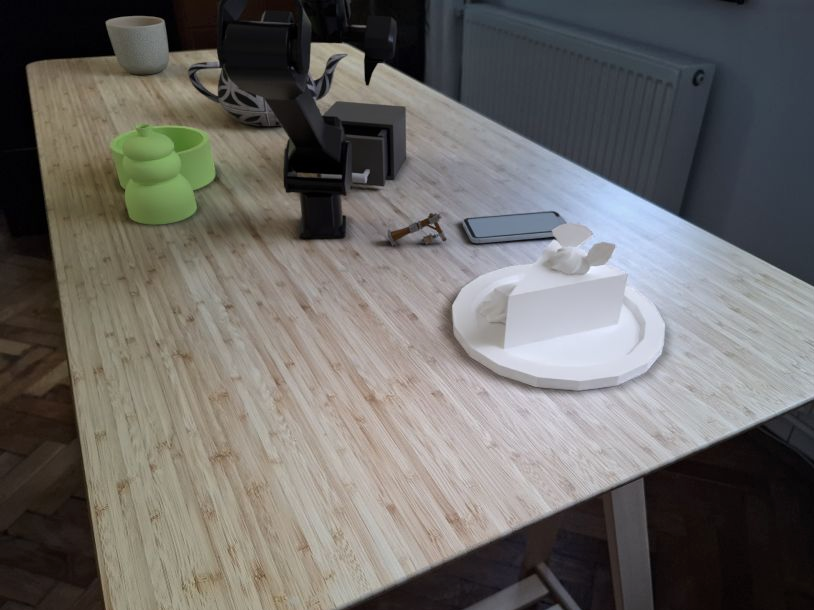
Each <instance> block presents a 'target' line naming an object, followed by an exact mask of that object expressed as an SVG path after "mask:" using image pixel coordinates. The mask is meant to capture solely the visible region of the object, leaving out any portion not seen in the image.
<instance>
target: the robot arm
mask: <svg viewBox="0 0 814 610" xmlns="http://www.w3.org/2000/svg"><path fill="white" fill-rule="evenodd" d="M249 2H250V0H220V1H219V2H218V6H217V28H216V30H217V31H216V54H217V59H218V62H219V63H220V66H221V67H222V68H221V69H223V70H225V72H226V74H227V76H228V78H229V79H230V80H231V81H232V82H233V83H234V84H235V85H237V86H238V87H239V88H240V89H241V90H244V91H247V92H249V93H252V94H255V95H258V96H261V97H263V98H264V99H265V101H266V102H267V104H268V106H269V107H270V109H271V110H272V112H273V113H274V115H275V117H276V118H277V120H278V121H279V123H280V124H281V125H280V126H281V127H282V130H283V131H284V132H285V134H286V135H287V137H288V139H287V143H286V147H285V148H284V152H283V153H284V154H283V168H282V169H283V171H282V173H283V179H282V180H283V181H282V182H283V188H284V191H285V193H287V194H290V193H295V194H296V193H297V194H298V195H299V202H300V203H299V205H300V213H301V217H300V223H299V230H298V237H299V239H331V238H332V239H333V238H345V237H347V216H346V215H344V214H343V204H342V196H343V197H347V196H348V194H349V192H350V189H351V187H352V185H353V184H352V145H351V142H350V141H347V137H346V134H345V133H344V130H345V129H344V128H343V127H342V124H341V120H340V119H339V118H338V117H336V116H322V115H323V114H322V113H321V110H320V108H319V107H318V105H317V102H316V103H315V101H314V98H313V96H312V94H311V92H310V90H309V88H308V86H307V84H306V83H308V79H309V76H308V72H310V68H311V67H310V66H311V49H312V43H316V44H319V43H320V44H343V43H344V42H345V43H348V42H349V43H363V49H364V50H363V51H364V58H363V70H364V71H363V74H364V84H365V86H366V87H369V86H370V83H371V80H372V76H373V73H374V71H375V70H376V68H377V66H378V65H379V64H384V63H385V62H386V61H389V60H392V59H394V58H395V52H396V46H397V45H396V44H397V38H398V37H397V36H398V25H397V21H396V20H395V19H394V18H393V16H382V15H380V16H379V15H367V17H366V23H365V25H364V24H362V25H361V24H348V20H350V19H351V14H352V11H351V6H350V4H351V3H352V0H293V2H294V4H295V6H296V8H297V23H295V22H294V16H293V12H291V11H284V10H283V11H282V10H281V11H280V10H265V11H264V12H263V14H262V15H261V18H260V21H255V20H239V18H240V17H241V14H243V12H244V10H245V8H246V7H247V5H248V4H249ZM298 174H312V175H317V174H328V175H342V179H341V178H322V177H317V176H299V175H298Z"/></svg>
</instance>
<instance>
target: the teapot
mask: <svg viewBox="0 0 814 610" xmlns="http://www.w3.org/2000/svg"><path fill="white" fill-rule="evenodd" d="M349 55H350V54H349V53H336V54H335V53H334V54H332V55H331V56H330V57H328V59H327V61H326V64H325V67H324V71H323V73H322V75H321V76H320V77H319V78H317V79H313V76H312V75H311V72H310V71H309V72H308V76H309V79H308V83H306V84H307V86H308V88H309V90H310V92H311V94H312V96H313V98H314V101H315V103H316V104H317V101H319V100H322V99H323V98H324V97H326V95H328V94H329V92H330V90H331V88H332V84H333V80H334V75H335V71H336V68H337V65H338V64H339V62H340V61H341V60H342V59H344V58H346V57H348V56H349ZM209 69H210V70H211V69H221V70H220V72H219V77H218V82H217V95H216V94H214V93H213V92H211V91H209V90H208V89H207V88H206V87H205V86H204V85H203V84H202V83H201V81H200V80H199V78H198V76H197V72H198V71H202V70H209ZM187 75H188V79H189V81H190V83H191V85H192V86H193V88H194V89H195V90H196V91H197V92H199V93H200V94H201V95H203V96H204V97H206V98H207V99H208V100H211V101H213V102H215V103H217V104H219V105H220V106H221V108H222V109H223V110H224V111H225V112H226V113H227V114H228V115H230V116H231V117H233V118H234V119H235V120H236V121H238V122H239V123H241V124H245V125H250V126H257V127H276V126H277V127H278V126H281V124H280V123H279V121H278V120H277V118H276V117H275V115H274V113H273V112H272V110H271V109H270V107H269V106H268V104H267V102H266V101H265V99H264V98H263V97H261V96H258V95H255V94H252V93H249V92H247V91H244V90H241V89H240V88H239V87H238V86H237V85H235V84H234V83H233V82H232V81H231V80H230V79H229V78H228V76H227V74H226V72H225V70H223V69H222V67H221V66H220V63H219V61H205V62H204V61H203V62H202V61H201V62H197V63H194V64H191V66H189V67H188V69H187Z"/></svg>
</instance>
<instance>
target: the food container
mask: <svg viewBox="0 0 814 610" xmlns="http://www.w3.org/2000/svg"><path fill="white" fill-rule="evenodd" d="M109 147H110V150H111V154H112V158H113V163H114V166H115V170H116V173H117V177H118V180H119V183H120V187H122V189H123V190H125V191H124V202H125V205H126V210H127V213H128V217H129V219H130V220H132V221H134V222H135V223H139V224H142V225H156V226H157V225H158V226H159V225H166V224H172V223H177V222H180V221H184V220H186V219H188V218H190V217H191V216H193V215H194V214H195V213H196V211H197V209H198V206H197V201H196V196H195V192H194V191H196V190H199V189H201V188H204V187H205V186H207V185H209V184H210V183H211V182H213V181H214V180H215V178H216V168H215V163H214V156H213V151H212V145H211V139H210V136H209V134H208V133H207V132H205V131H204V130H202V129H199V128H195V127H190V126H184V125H156V126H153V125H152V124H151V123H139V124H135V129H132V130H130V131H126V132H123V133H121V134H118V135H117V136H116V137H114V138H112V140H111V141H110V143H109Z"/></svg>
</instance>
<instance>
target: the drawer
mask: <svg viewBox="0 0 814 610" xmlns="http://www.w3.org/2000/svg"><path fill="white" fill-rule="evenodd" d="M342 127H343V128H344V129H345V130H344V133H345V134H346V137H347V141H350V142H351V145H352V185H361V186H362V185H363V186H373V187H385V185H386V179H385V177H386V175H387V174H388V172H389V170H390V169H391V161H390V128H382V127H370V126H358V125H346V124H342ZM316 177H322V178H341V179H342V175H328V174H316Z"/></svg>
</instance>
